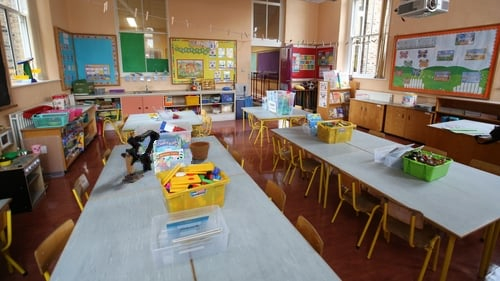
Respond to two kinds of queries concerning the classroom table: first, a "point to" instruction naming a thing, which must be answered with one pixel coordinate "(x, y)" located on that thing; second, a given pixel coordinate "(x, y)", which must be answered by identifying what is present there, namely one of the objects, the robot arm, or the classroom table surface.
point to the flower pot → (199, 150)
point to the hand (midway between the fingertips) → (128, 165)
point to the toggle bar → (129, 164)
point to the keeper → (132, 177)
